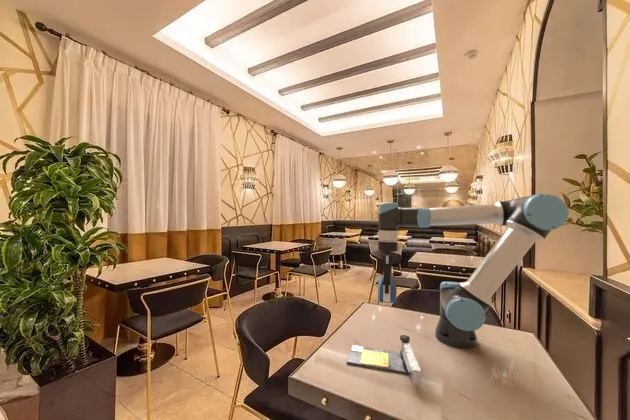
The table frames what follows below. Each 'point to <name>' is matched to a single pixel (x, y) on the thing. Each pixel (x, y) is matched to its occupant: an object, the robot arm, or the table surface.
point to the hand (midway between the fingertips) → (386, 298)
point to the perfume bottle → (392, 292)
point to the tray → (377, 359)
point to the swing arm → (410, 360)
